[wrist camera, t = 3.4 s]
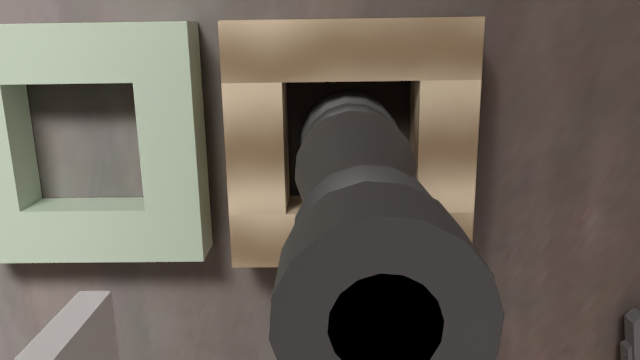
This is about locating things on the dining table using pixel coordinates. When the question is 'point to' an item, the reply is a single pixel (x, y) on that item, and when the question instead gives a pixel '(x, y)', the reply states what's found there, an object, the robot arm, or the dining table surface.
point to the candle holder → (375, 252)
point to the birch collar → (344, 66)
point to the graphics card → (631, 336)
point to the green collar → (153, 138)
